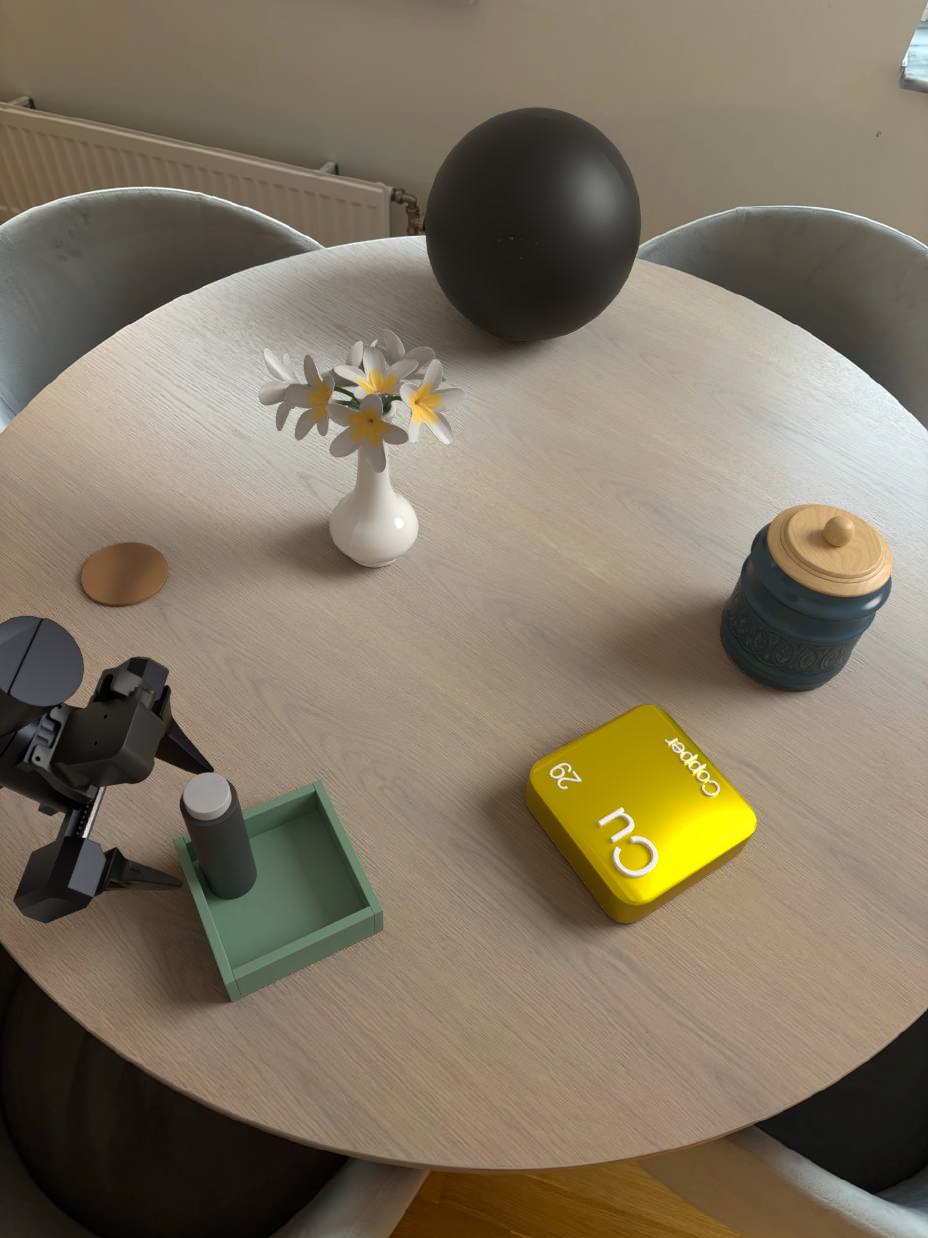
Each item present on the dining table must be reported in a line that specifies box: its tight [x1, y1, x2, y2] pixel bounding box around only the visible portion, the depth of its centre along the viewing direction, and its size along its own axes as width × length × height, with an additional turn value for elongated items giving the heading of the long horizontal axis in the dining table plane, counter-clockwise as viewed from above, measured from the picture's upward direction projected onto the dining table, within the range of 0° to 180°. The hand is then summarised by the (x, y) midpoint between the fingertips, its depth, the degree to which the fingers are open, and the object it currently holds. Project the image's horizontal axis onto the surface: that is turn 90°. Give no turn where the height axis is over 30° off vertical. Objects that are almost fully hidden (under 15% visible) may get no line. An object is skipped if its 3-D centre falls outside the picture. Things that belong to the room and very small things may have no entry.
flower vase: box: [257, 328, 467, 569], centre depth 92 cm, size 13×18×25 cm
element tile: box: [524, 703, 758, 925], centre depth 82 cm, size 15×15×5 cm
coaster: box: [80, 541, 169, 608], centre depth 97 cm, size 8×8×1 cm
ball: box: [424, 106, 642, 342], centre depth 119 cm, size 27×27×27 cm
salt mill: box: [179, 772, 257, 900], centre depth 72 cm, size 4×4×14 cm
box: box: [172, 779, 384, 1003], centre depth 76 cm, size 13×13×4 cm
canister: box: [719, 503, 894, 692], centre depth 90 cm, size 13×13×18 cm
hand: (195, 827), depth 71 cm, fingers open, 9 cm apart
